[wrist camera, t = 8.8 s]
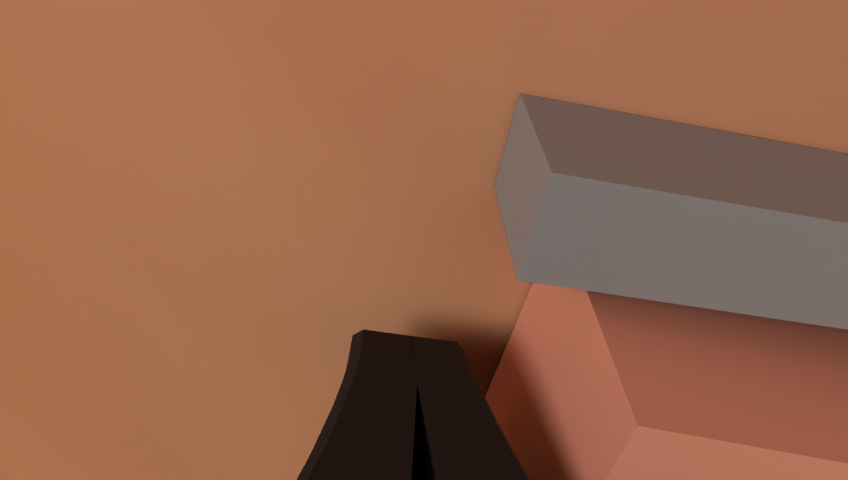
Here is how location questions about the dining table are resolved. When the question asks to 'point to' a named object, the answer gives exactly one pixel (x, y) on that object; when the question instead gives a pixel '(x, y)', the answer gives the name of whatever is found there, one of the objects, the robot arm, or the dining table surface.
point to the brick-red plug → (669, 392)
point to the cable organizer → (675, 213)
